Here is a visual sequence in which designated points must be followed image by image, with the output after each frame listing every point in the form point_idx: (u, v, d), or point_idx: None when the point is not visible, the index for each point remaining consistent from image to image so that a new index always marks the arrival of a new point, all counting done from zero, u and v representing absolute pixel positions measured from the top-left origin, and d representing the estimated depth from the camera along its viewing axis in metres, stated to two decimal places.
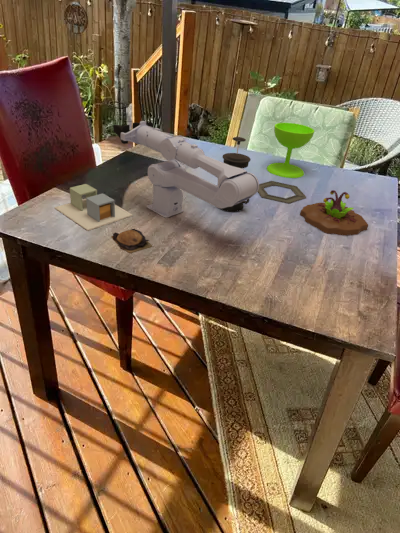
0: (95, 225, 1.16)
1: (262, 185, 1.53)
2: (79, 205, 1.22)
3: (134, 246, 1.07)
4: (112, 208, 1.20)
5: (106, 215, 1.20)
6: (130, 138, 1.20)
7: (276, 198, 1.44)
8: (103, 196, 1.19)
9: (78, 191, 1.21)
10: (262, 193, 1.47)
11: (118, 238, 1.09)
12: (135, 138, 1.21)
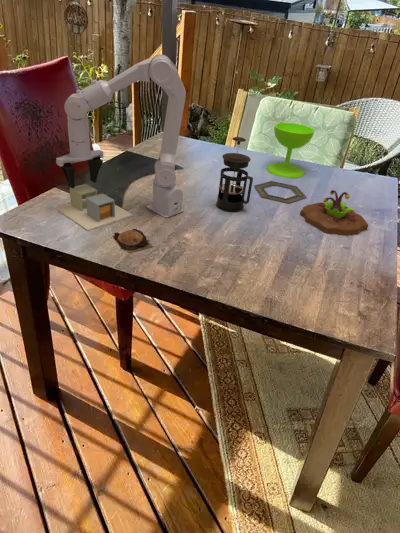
0: (95, 225, 1.16)
1: (262, 185, 1.53)
2: (79, 205, 1.22)
3: (134, 247, 1.07)
4: (112, 208, 1.20)
5: (106, 215, 1.20)
6: (66, 158, 1.13)
7: (276, 198, 1.44)
8: (103, 196, 1.19)
9: (78, 191, 1.21)
10: (262, 193, 1.47)
11: (119, 238, 1.09)
12: (73, 157, 1.14)
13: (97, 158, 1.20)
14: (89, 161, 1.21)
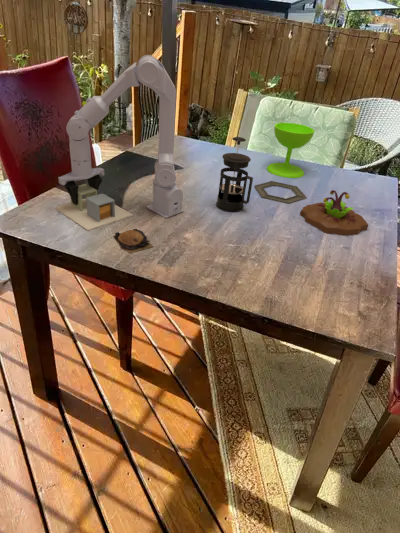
0: (95, 225, 1.16)
1: (262, 185, 1.53)
2: (79, 205, 1.22)
3: (134, 247, 1.06)
4: (112, 208, 1.20)
5: (106, 215, 1.20)
6: (68, 177, 1.17)
7: (276, 198, 1.44)
8: (103, 196, 1.19)
9: (78, 191, 1.21)
10: (262, 193, 1.47)
11: (119, 238, 1.09)
12: (74, 176, 1.18)
13: (96, 176, 1.23)
14: (89, 179, 1.24)
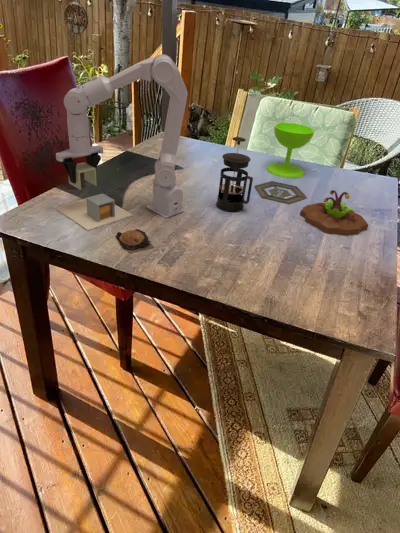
0: (95, 225, 1.16)
1: (262, 185, 1.53)
2: (77, 183, 1.18)
3: (134, 247, 1.06)
4: (112, 208, 1.20)
5: (106, 215, 1.20)
6: None
7: (276, 198, 1.44)
8: (103, 196, 1.19)
9: (76, 169, 1.17)
10: (262, 193, 1.46)
11: (120, 237, 1.09)
12: (72, 152, 1.14)
13: (95, 154, 1.19)
14: (87, 157, 1.20)
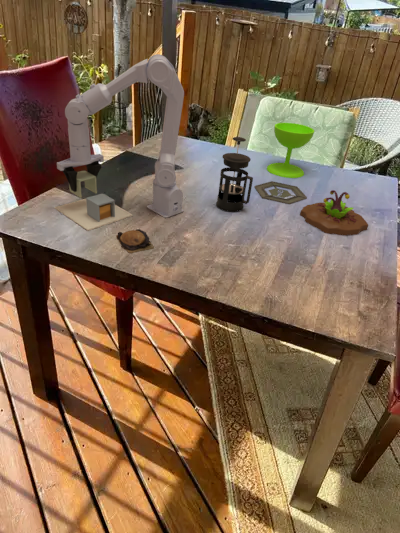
0: (95, 225, 1.16)
1: (262, 185, 1.53)
2: (78, 192, 1.19)
3: (135, 247, 1.06)
4: (112, 208, 1.20)
5: (106, 215, 1.20)
6: None
7: (277, 199, 1.44)
8: (103, 196, 1.19)
9: (77, 177, 1.18)
10: (262, 194, 1.46)
11: (121, 237, 1.09)
12: (73, 161, 1.15)
13: (95, 162, 1.21)
14: (88, 166, 1.22)
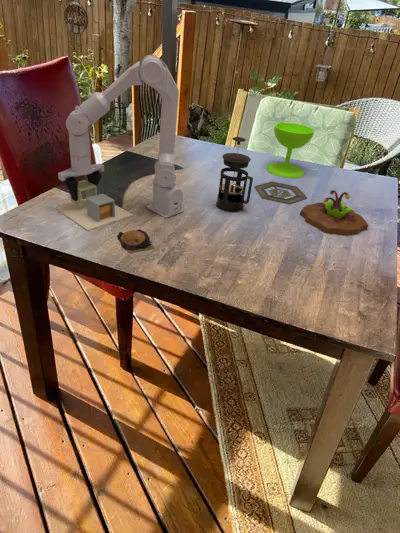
0: (95, 225, 1.16)
1: (262, 186, 1.53)
2: (79, 201, 1.21)
3: (135, 247, 1.06)
4: (112, 208, 1.20)
5: (106, 215, 1.20)
6: (68, 173, 1.16)
7: (277, 199, 1.43)
8: (103, 196, 1.19)
9: (78, 187, 1.20)
10: (263, 194, 1.46)
11: (121, 237, 1.09)
12: (74, 172, 1.17)
13: (96, 172, 1.22)
14: (88, 175, 1.23)
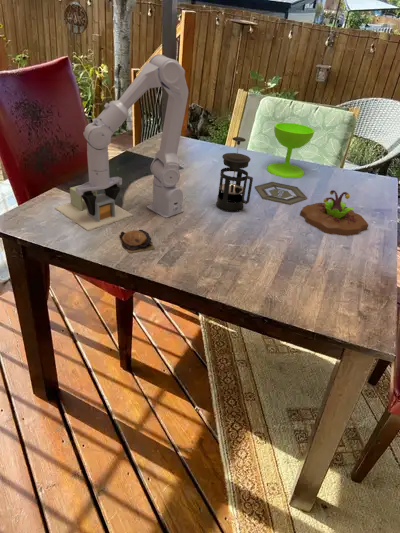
0: (95, 225, 1.16)
1: (263, 186, 1.53)
2: (79, 205, 1.22)
3: (135, 247, 1.06)
4: (112, 208, 1.20)
5: (106, 215, 1.20)
6: (86, 187, 1.12)
7: (277, 199, 1.43)
8: (103, 196, 1.19)
9: None
10: (263, 194, 1.46)
11: (123, 237, 1.09)
12: (92, 186, 1.13)
13: (114, 186, 1.18)
14: (106, 189, 1.19)
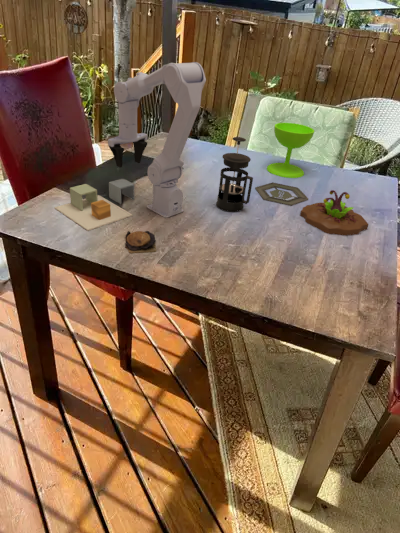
0: (95, 225, 1.16)
1: (263, 187, 1.52)
2: (79, 205, 1.22)
3: (136, 248, 1.06)
4: (132, 191, 1.32)
5: (106, 215, 1.20)
6: (117, 140, 1.25)
7: (278, 200, 1.43)
8: (124, 181, 1.32)
9: (78, 191, 1.21)
10: (264, 195, 1.45)
11: (127, 237, 1.10)
12: (122, 139, 1.26)
13: (142, 140, 1.33)
14: (134, 143, 1.33)
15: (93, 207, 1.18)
